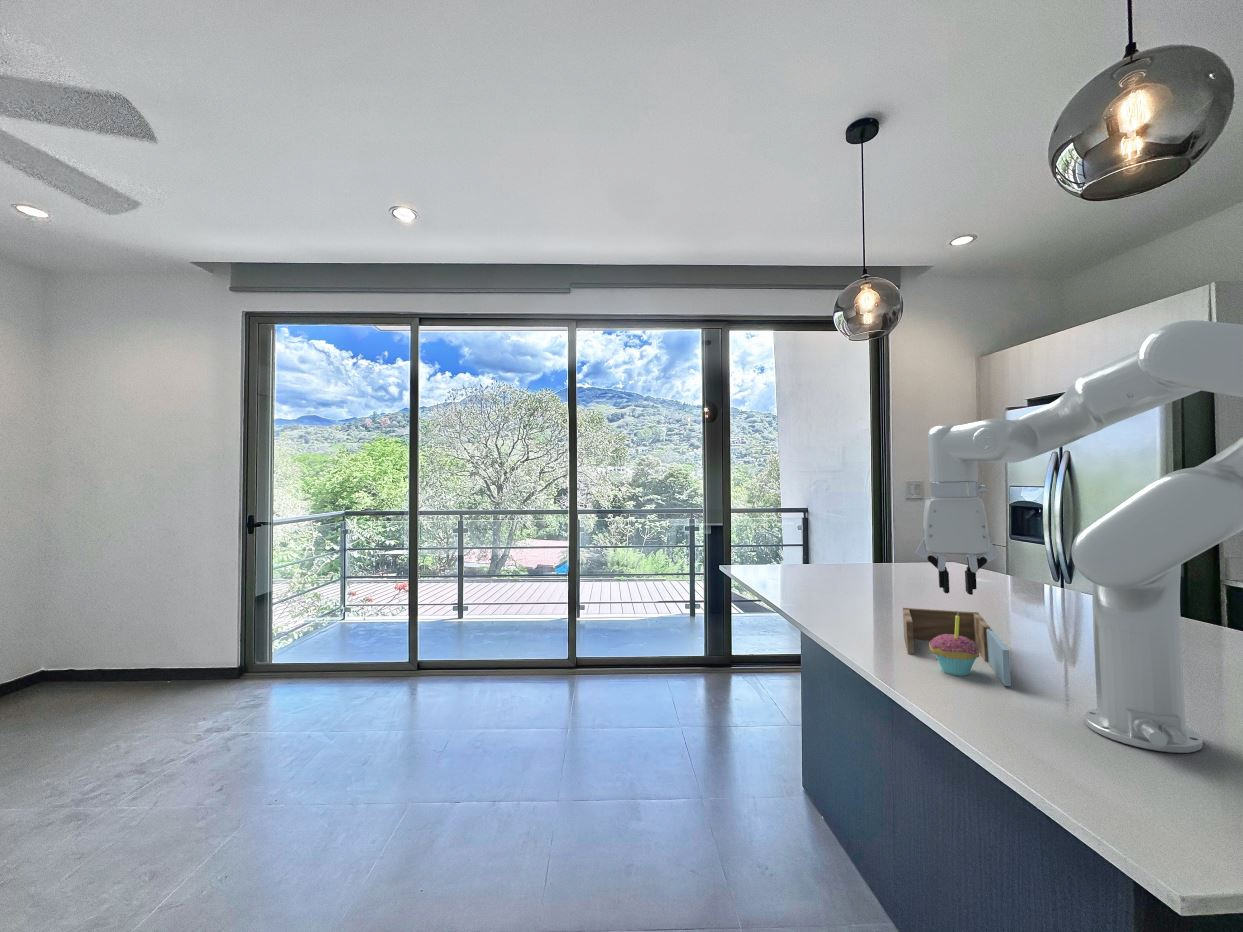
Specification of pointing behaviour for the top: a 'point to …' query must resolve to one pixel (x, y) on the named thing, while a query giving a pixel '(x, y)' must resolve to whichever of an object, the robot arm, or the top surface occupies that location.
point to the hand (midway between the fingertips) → (957, 591)
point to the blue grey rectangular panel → (998, 657)
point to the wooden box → (944, 627)
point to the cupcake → (954, 652)
